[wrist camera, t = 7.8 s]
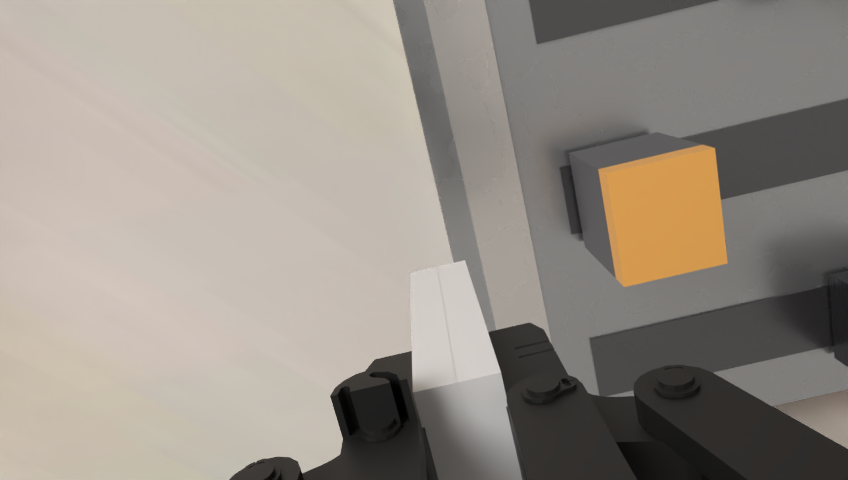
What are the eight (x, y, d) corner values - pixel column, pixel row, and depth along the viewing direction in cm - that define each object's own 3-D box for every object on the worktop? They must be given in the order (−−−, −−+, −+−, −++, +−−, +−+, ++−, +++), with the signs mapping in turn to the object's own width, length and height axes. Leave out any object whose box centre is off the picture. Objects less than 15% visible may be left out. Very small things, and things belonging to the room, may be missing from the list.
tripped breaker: (568, 153, 23) (606, 173, 19) (657, 132, 23) (714, 147, 19) (585, 247, 24) (624, 287, 20) (669, 227, 24) (727, 263, 20)
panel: (378, -61, 23) (370, -105, 17) (992, -215, 22) (1216, -319, 16) (494, 439, 29) (520, 542, 23) (988, 328, 28) (1154, 404, 22)
